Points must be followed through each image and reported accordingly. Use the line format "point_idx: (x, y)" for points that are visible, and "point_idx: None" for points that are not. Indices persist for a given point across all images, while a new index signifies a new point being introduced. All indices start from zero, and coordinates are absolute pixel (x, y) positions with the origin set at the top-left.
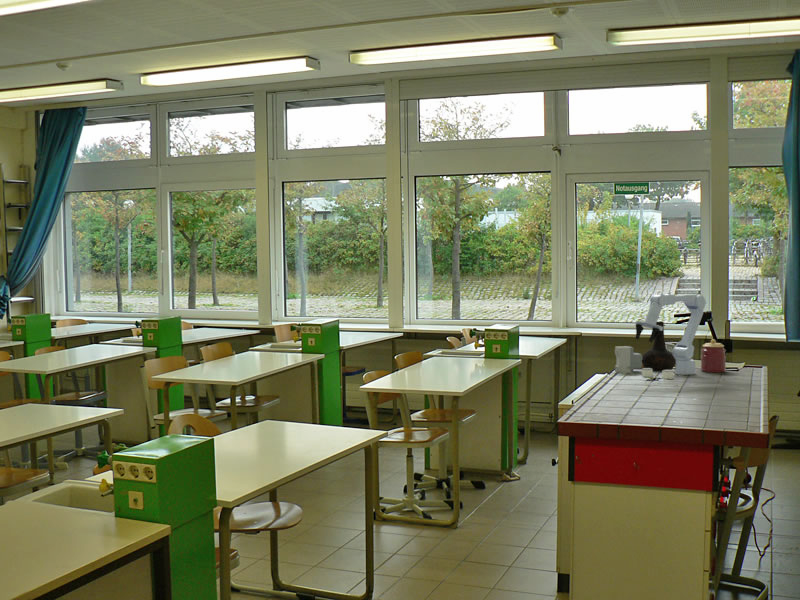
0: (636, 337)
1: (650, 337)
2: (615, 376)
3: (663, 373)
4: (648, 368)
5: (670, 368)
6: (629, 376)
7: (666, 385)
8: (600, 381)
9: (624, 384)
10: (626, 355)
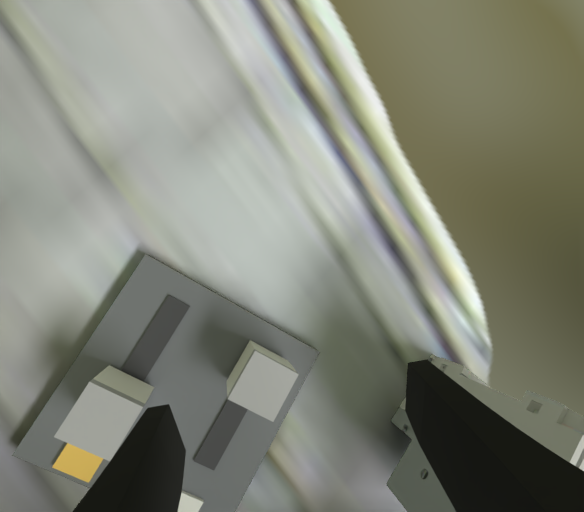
0: (420, 367)
1: (130, 462)
2: (419, 316)
3: (131, 390)
4: (260, 394)
5: None
6: (377, 371)
7: (16, 241)
8: (358, 124)
9: (215, 115)
10: None
